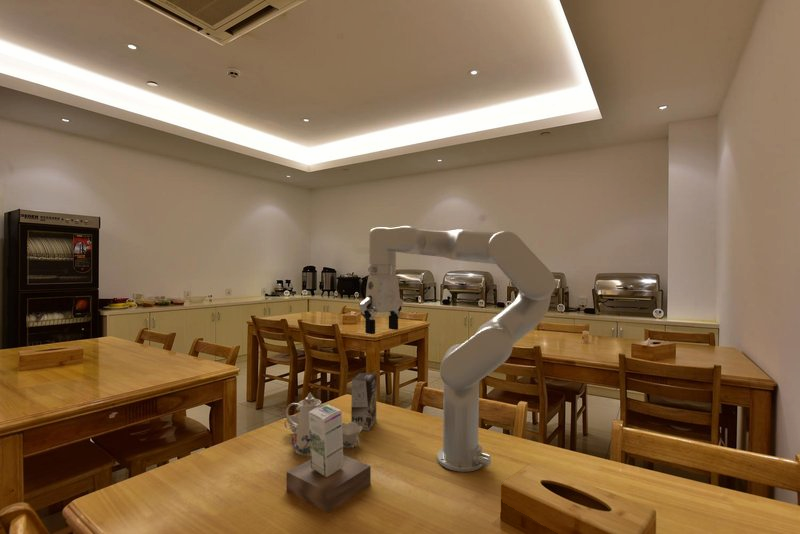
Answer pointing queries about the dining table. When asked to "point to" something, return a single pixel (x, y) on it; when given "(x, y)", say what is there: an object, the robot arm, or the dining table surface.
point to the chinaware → (301, 427)
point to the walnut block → (328, 483)
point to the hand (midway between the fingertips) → (382, 331)
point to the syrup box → (326, 439)
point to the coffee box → (364, 400)
